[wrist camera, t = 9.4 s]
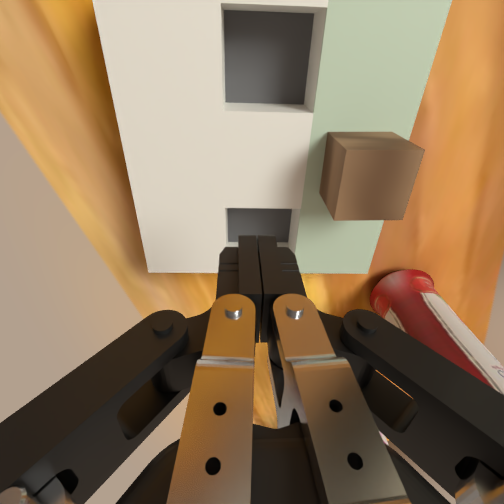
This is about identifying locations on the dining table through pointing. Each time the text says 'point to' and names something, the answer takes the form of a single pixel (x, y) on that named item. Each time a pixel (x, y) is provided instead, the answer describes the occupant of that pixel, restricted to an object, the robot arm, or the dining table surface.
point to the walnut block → (368, 175)
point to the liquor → (434, 323)
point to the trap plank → (257, 116)
